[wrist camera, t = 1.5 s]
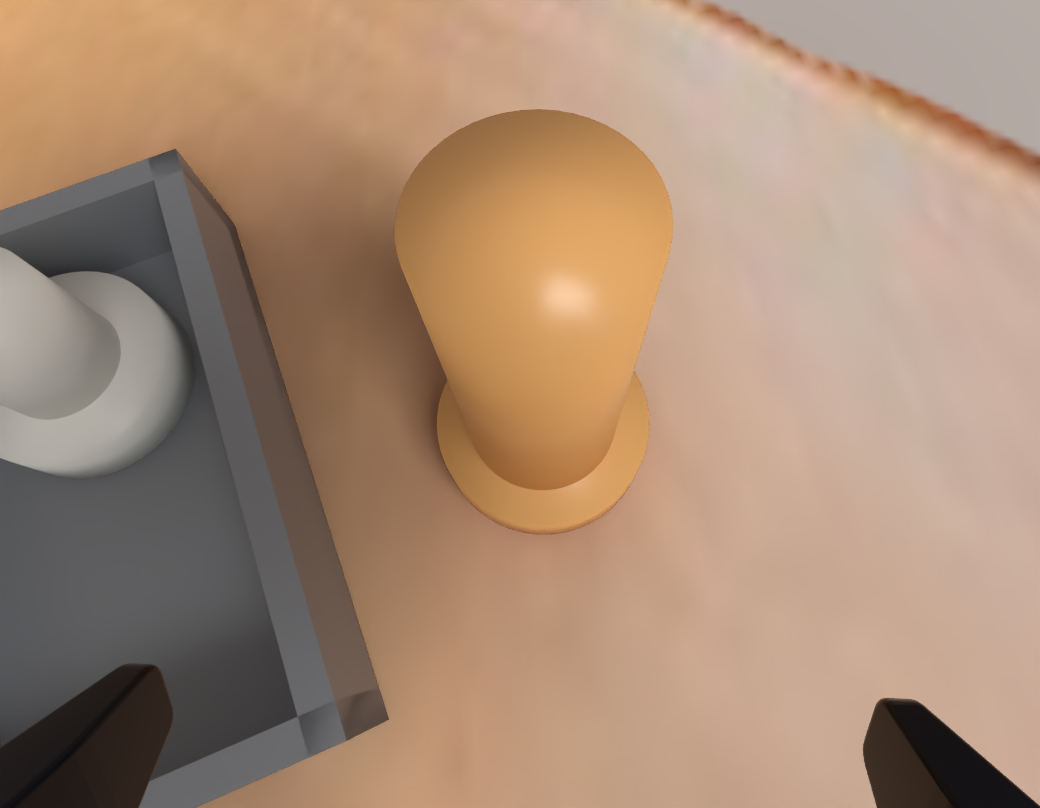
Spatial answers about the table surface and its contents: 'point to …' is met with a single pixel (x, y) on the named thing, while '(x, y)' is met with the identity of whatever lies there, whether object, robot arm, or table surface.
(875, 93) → the table surface
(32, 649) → the grey storage tray
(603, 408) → the mushroom shaped handle
